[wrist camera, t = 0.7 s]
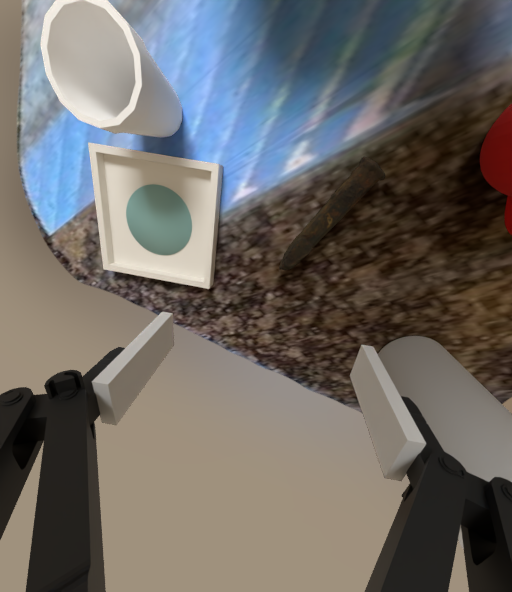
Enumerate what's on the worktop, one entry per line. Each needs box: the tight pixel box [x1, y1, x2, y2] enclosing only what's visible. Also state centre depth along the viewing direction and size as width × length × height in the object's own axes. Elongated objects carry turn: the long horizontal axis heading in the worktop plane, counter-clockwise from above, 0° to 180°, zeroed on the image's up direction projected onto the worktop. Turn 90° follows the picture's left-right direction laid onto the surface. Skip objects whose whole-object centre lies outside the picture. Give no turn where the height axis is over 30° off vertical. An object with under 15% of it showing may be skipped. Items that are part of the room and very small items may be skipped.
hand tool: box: [279, 157, 385, 270], centre depth 35 cm, size 19×4×5 cm, turn 138°
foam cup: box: [40, 0, 182, 138], centre depth 27 cm, size 10×9×13 cm
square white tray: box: [88, 143, 223, 289], centre depth 38 cm, size 19×19×2 cm
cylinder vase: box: [378, 336, 512, 549], centre depth 33 cm, size 12×12×25 cm
